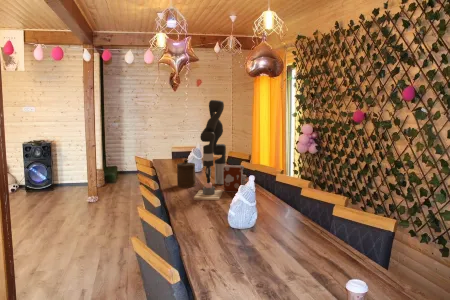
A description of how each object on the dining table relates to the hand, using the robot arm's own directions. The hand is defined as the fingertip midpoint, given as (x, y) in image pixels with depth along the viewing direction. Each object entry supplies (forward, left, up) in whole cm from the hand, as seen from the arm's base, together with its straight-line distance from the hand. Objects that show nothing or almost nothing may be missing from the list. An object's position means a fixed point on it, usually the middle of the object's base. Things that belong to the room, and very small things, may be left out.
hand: (208, 182), depth 296 cm
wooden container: (-34, -24, -10) cm, 43 cm away
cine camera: (-16, +19, -10) cm, 27 cm away
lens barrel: (0, 0, -8) cm, 8 cm away
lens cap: (0, 0, -8) cm, 8 cm away
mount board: (0, 0, -10) cm, 10 cm away
